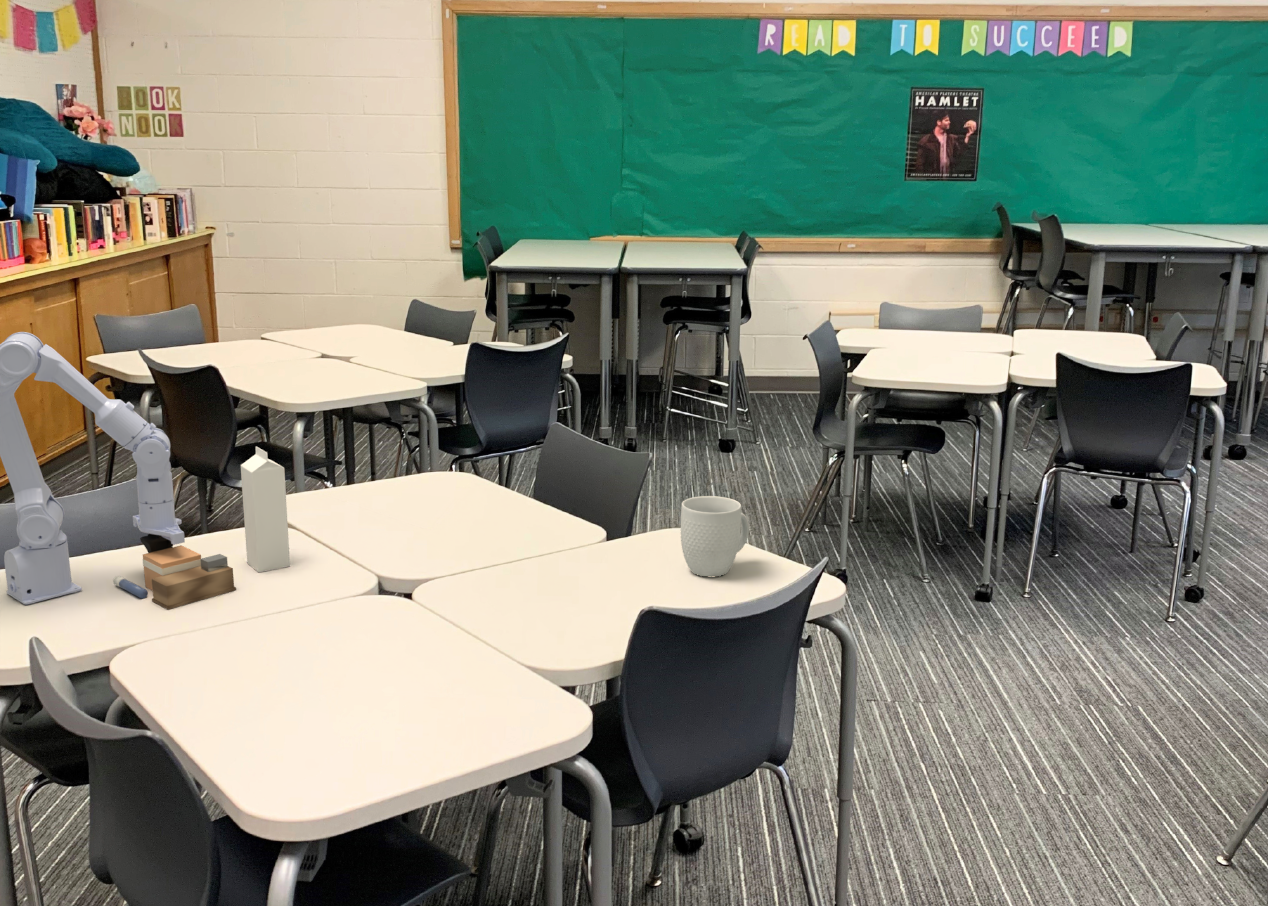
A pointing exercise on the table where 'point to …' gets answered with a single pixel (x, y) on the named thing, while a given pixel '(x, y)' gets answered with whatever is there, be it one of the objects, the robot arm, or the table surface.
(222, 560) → the eraser
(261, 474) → the milk
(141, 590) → the marker
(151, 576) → the carton
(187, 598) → the podium
